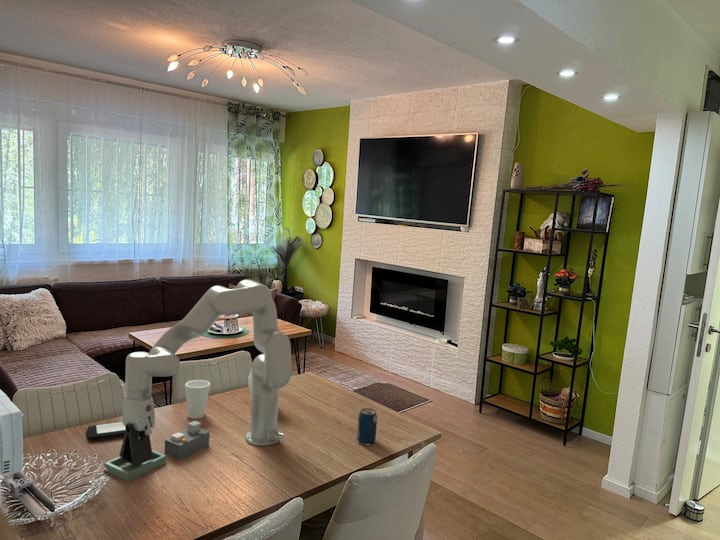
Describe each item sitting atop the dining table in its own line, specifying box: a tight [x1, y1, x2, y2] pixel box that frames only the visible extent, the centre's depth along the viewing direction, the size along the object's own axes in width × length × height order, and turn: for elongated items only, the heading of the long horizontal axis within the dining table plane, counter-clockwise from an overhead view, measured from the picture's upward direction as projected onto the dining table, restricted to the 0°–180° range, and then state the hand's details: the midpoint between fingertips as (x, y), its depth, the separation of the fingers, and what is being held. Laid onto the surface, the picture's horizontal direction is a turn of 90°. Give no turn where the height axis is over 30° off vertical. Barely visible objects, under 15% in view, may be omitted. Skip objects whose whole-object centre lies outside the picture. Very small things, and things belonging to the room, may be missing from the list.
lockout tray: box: [103, 449, 167, 482], centre depth 154 cm, size 11×14×2 cm
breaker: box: [187, 420, 202, 435], centre depth 170 cm, size 3×3×4 cm
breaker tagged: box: [170, 432, 185, 442], centre depth 164 cm, size 3×3×4 cm
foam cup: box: [184, 379, 211, 419], centre depth 194 cm, size 10×9×13 cm
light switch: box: [85, 421, 126, 441], centre depth 176 cm, size 20×3×14 cm
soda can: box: [356, 408, 378, 445], centre depth 182 cm, size 7×7×12 cm
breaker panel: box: [163, 428, 210, 461], centre depth 167 cm, size 7×13×6 cm, turn 152°
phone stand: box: [118, 423, 153, 466], centre depth 153 cm, size 9×6×12 cm, turn 54°
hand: (136, 448), depth 153 cm, fingers closed on phone stand
